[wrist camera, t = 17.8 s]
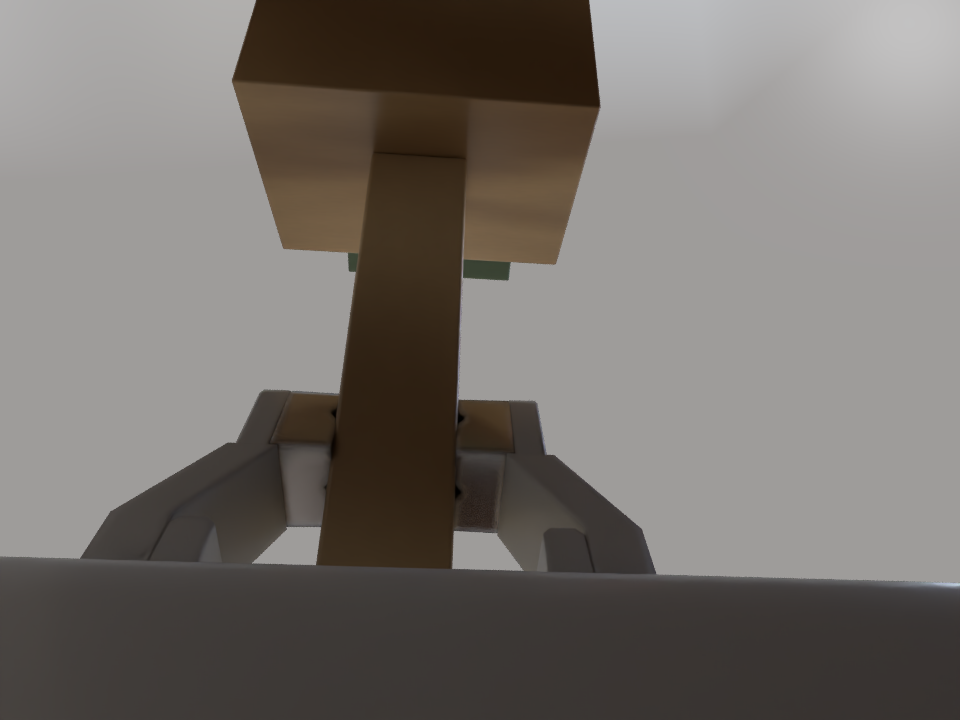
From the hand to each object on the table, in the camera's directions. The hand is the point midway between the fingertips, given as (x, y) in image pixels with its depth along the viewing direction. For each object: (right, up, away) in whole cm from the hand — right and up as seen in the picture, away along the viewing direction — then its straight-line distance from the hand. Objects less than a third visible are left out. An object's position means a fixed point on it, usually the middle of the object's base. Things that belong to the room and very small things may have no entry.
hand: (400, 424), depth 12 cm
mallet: (0, +5, -1) cm, 5 cm away
